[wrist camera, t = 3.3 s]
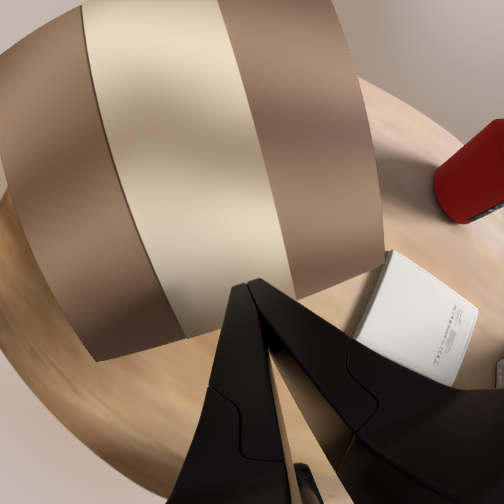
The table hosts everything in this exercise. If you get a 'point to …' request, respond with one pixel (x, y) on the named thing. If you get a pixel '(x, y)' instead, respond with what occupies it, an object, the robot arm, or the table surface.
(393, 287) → the external hard drive
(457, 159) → the beverage can
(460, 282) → the table surface
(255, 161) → the lid
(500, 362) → the skincare box
